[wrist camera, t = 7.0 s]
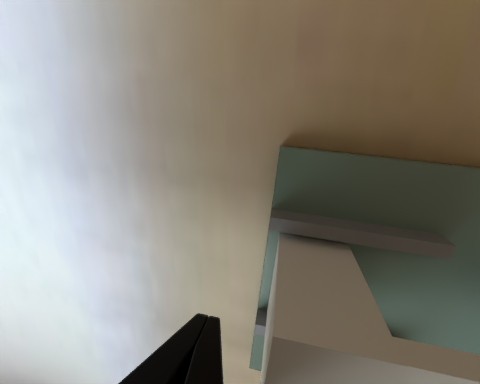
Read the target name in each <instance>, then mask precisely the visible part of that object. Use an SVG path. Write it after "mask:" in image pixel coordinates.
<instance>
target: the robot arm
mask: <svg viewBox="0 0 480 384" xmlns="http://www.w3.org/2000/svg"><path fill="white" fill-rule="evenodd" d="M119 384H223V368H222V349H221V330H220V318H218V317H213V316H209V317H208V315H204V314H200V313H198V314H196V315H195V316H194V317H193V318H192V319H191V320H190V321H188V322H187V323H186V324H185V325H184V326H183V327H182V328H181V329H179V330H178V331H177V332H176V333H175V334H174V335H173V336H172V337H170V338H169V339H168V340H167V341H166V342H165V343H164V344H163V345H161V346H160V347H159V348H158V349H157V350H156V351H155V352H154V353H152V354H151V355H150V356H149V357H148V358H147V359H146V360H145V361H143V362H142V363H141V364H140V365H139V366H138V367H137V368H136V369H134V370H133V371H132V372H131V373H130V374H129V375H128V376H127V377H125V378H124V379H123V380H122V381H121V382H120V383H119Z"/></svg>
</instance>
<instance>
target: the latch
mask: <svg viewBox="0 0 480 384" xmlns="http://www.w3.org/2000/svg"><path fill="white" fill-rule="evenodd" d="M260 384H480V355H478V354H473V353H468V352H463V351H459V350H454V349H449V348H444V347H440V346H435V345H430V344H426V343H421V342H416V341H411V340H407V339H402V338H397V337H392V335H391V333H390V331H389V329H388V327H387V325H386V322H385V320H384V318H383V316H382V314H381V312H380V310H379V308H378V306H377V304H376V301H375V299H374V297H373V295H372V293H371V291H370V289H369V287H368V285H367V282H366V280H365V278H364V276H363V274H362V272H361V270H360V268H359V266H358V264H357V261H356V259H355V257H354V255H353V253H352V251H351V249H350V247H349V245H348V244H344V243H338V242H332V241H326V240H320V239H314V238H308V237H301V236H295V235H289V234H283V233H279V239H278V245H277V252H276V258H275V265H274V271H273V277H272V284H271V290H270V297H269V303H268V309H267V319H266V329H265V339H264V349H263V360H262V370H261V380H260Z"/></svg>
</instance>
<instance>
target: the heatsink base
mask: <svg viewBox="0 0 480 384" xmlns="http://www.w3.org/2000/svg"><path fill="white" fill-rule="evenodd" d="M279 233H283V234H289V235H295V236H301V237H308V238H314V239H320V240H326V241H332V242H338V243H344V244H348V245H349V247H350V249H351V251H352V253H353V255H354V257H355V259H356V261H357V264H358V266H359V268H360V270H361V272H362V274H363V276H364V278H365V280H366V282H367V285H368V287H369V289H370V291H371V293H372V295H373V297H374V299H375V301H376V304H377V306H378V308H379V310H380V312H381V314H382V316H383V318H384V320H385V322H386V325H387V327H388V329H389V331H390V333H391V335H392V337H397V338H402V339H407V340H411V341H416V342H421V343H426V344H430V345H435V346H440V347H444V348H449V349H454V350H459V351H463V352H468V353H473V354H478V355H480V168H479V167H470V166H461V165H452V164H443V163H434V162H425V161H416V160H407V159H398V158H389V157H380V156H371V155H362V154H353V153H344V152H335V151H326V150H317V149H309V148H300V147H291V146H282V145H281V146H280V153H279V160H278V167H277V175H276V182H275V189H274V196H273V203H272V210H271V216H270V223H269V232H268V239H267V246H266V253H265V260H264V267H263V274H262V281H261V289H260V296H259V303H258V310H257V317H256V323H255V330H254V339H253V346H252V353H251V360H250V367H249V368H251V369H255V370H259V371H261V370H262V360H263V349H264V339H265V329H266V319H267V309H268V303H269V297H270V290H271V284H272V277H273V271H274V265H275V258H276V252H277V245H278V239H279Z"/></svg>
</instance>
